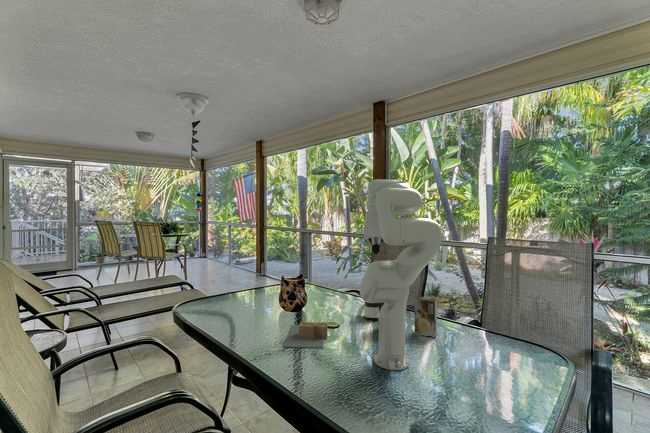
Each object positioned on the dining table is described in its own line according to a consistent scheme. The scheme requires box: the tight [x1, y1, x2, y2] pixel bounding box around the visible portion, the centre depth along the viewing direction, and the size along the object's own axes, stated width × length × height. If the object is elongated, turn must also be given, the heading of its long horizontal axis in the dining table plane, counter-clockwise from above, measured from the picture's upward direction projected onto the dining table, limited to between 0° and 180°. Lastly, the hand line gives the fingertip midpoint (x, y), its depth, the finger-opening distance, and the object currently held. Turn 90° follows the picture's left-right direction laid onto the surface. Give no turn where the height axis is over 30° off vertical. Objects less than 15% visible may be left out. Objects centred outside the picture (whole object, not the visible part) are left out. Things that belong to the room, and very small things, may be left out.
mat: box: [282, 324, 325, 349], centre depth 140 cm, size 24×16×1 cm, turn 177°
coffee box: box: [414, 296, 438, 338], centre depth 144 cm, size 9×6×16 cm
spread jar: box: [356, 301, 379, 321], centre depth 166 cm, size 12×11×12 cm
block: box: [299, 321, 328, 339], centre depth 140 cm, size 5×5×12 cm
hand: (375, 253), depth 136 cm, fingers closed
